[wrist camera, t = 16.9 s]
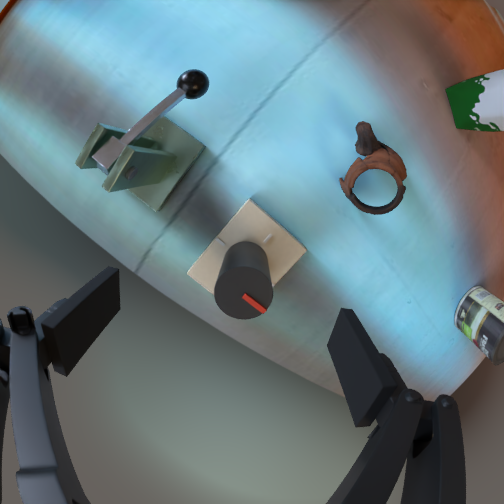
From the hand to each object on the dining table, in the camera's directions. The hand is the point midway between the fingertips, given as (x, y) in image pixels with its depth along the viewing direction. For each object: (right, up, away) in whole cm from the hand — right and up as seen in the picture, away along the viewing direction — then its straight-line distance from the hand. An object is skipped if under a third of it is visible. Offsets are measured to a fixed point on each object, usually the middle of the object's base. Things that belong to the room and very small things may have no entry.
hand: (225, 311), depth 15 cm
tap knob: (+1, +2, +21) cm, 21 cm away
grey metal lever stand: (-12, +16, +19) cm, 27 cm away
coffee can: (+47, -8, +26) cm, 55 cm away
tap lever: (-9, +17, +10) cm, 21 cm away
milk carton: (+38, +28, +15) cm, 50 cm away
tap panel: (+1, +3, +23) cm, 23 cm away
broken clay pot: (+17, +15, +19) cm, 30 cm away
